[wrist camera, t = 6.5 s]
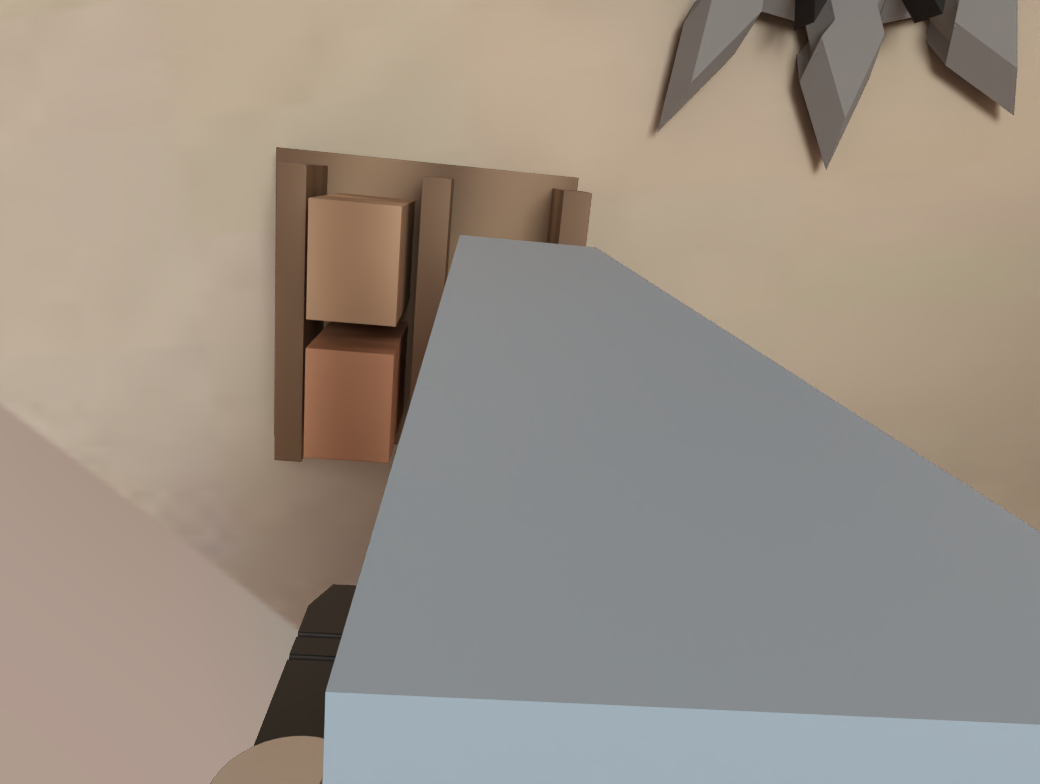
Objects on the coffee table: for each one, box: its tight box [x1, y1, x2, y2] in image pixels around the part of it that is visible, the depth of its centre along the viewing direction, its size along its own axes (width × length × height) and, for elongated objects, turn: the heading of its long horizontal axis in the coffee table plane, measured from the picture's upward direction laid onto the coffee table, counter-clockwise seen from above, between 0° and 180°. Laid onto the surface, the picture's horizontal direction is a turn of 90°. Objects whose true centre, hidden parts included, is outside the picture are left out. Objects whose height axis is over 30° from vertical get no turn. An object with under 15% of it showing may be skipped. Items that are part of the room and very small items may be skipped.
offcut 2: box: [304, 321, 408, 463], centre depth 29 cm, size 3×4×6 cm
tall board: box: [323, 235, 1040, 784], centre depth 11 cm, size 3×9×15 cm, turn 175°
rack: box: [274, 147, 592, 462], centre depth 30 cm, size 12×12×6 cm
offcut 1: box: [306, 193, 415, 327], centre depth 28 cm, size 3×4×6 cm
